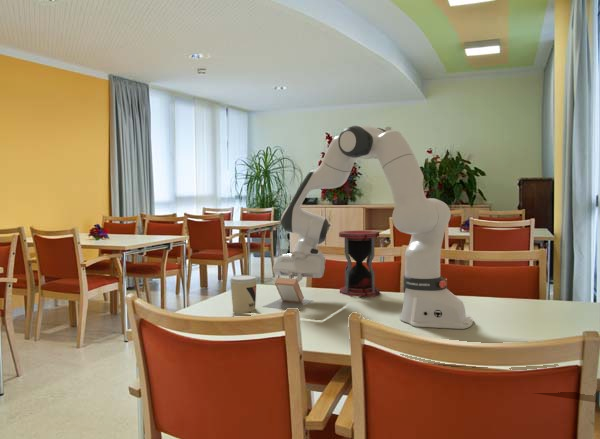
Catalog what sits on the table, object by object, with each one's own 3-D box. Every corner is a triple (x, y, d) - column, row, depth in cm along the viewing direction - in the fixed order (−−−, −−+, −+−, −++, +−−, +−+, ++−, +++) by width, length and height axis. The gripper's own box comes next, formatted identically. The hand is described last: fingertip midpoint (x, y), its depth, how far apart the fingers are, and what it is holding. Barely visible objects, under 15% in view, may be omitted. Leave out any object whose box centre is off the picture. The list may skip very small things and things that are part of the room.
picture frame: (304, 297, 189) (296, 279, 183) (301, 303, 187) (294, 284, 182) (284, 296, 193) (276, 277, 187) (282, 301, 191) (274, 283, 185)
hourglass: (361, 299, 195) (360, 234, 193) (331, 293, 207) (330, 232, 205) (387, 293, 206) (387, 231, 204) (357, 287, 218) (357, 229, 216)
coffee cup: (253, 314, 174) (252, 280, 174) (227, 313, 176) (226, 279, 176) (260, 308, 184) (259, 275, 183) (235, 307, 186) (235, 274, 185)
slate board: (313, 302, 191) (313, 300, 191) (294, 312, 177) (294, 310, 177) (283, 299, 197) (283, 297, 197) (262, 308, 183) (262, 306, 182)
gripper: (276, 248, 200) (264, 277, 192) (324, 251, 191) (314, 281, 183) (282, 258, 204) (270, 287, 196) (329, 261, 195) (319, 291, 187)
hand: (292, 284), depth 189 cm, fingers closed
